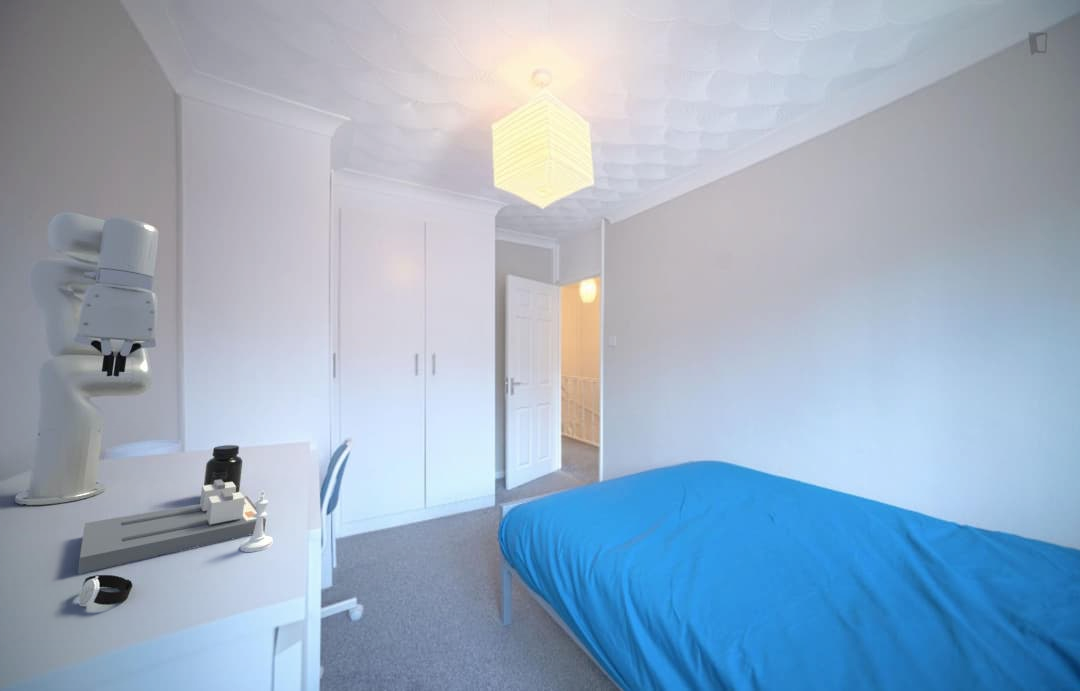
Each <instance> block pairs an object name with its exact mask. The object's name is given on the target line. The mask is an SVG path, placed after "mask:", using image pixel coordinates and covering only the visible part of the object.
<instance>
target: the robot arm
mask: <svg viewBox="0 0 1080 691" xmlns="http://www.w3.org/2000/svg"><path fill="white" fill-rule="evenodd" d="M159 234H160V233H159V230H158V229H157V228H156V227H155V226H153V225H152V224H150V223H148V222H147V223H146V222H144V221H141V220H136V219H132V218H127V217H121V216H112V217H111V216H110V217H107V218H106V219H105V220H104V219H101V218H97V217H92V216H88V215H84V214H80V213H76V212H75V213H74V212H61V213H58V214H56V215H55V216H54V217H52V219H51V220H50V222H49V223H48V226H47V232H46V236H47V241H48V244H49V246H50V247H51V249H52V250H53V251H55V252H58V253H61V254H65V255H66V256H68V257H69V258H70V259H68V258H58V257H57V258H56V257H48V258H47V257H46V258H45V257H44V258H40V259H38V260H35V261H34V262H33V263H32V264H31V265H30V267H29V269H28V275H27V276H28V277H27V278H28V288H29V291H30V295H31V297H32V299H33V301H34V303H35V304H36V305H37V306H38V308H39V310H40V311H41V313H42V315H43V317H44V327H45V328H44V329H45V341H46V348H47V351H48V352H49V354H50V355H51V356H52V357H50V358H48V359H46V360H44V361H43V362H42V363H41V364H40V366H39V367H38V371H37V372H38V373H37V380H38V389H39V390H38V391H39V411H38V412H39V413H38V420H37V428H36V436H35V444H34V450H33V456H32V463H31V470H30V476H29V477H30V478H29V484H28V490H27V489H26V490H25V491H22V492H19V493H18V494H16V496H15V497H14V498H15V499H14V502H15V503H16V504H18V505H23V504H26V505H25V506H38V505H39V506H44V505H56V504H61V503H69V502H73V501H74V502H75V501H79V500H83V499H86V498H87V499H88V498H91V497H94V496H97V495H98V494H101V493H103V491H105V489H106V484H105V483H103V482H101V481H99V482H98V481H97V475H98V467H99V460H100V453H101V445H102V438H103V432H104V431H103V430H104V424H105V414H104V412H103V411H102V410H101V408H100V407H98V406H97V405H96V404H94V402H92V401H91V398H98V397H99V398H100V397H126V396H127V397H128V396H132V397H133V396H138V395H142V394H144V393H146V392H147V391H148V390H150V388H151V386H152V382H153V370H152V365H151V364H152V363H151V361H150V359H151V358H150V355H149V351H148V348H149V349H151V348H155V347H156V346H157V343H156V338H155V337H156V334H157V328H158V327H157V326H158V314H159V313H158V311H159V310H158V308H159V305H158V296H157V293H155V292H152V291H153V284H154V282H153V281H154V276H155V268H156V262H157V261H156V260H157V255H158V249H159V247H158V246H159V245H158V243H159ZM77 295H78V296H77ZM79 295H80V296H83V299H82V298H81V297H79Z"/></svg>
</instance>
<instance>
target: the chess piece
mask: <svg viewBox="0 0 1080 691" xmlns="http://www.w3.org/2000/svg"><path fill="white" fill-rule="evenodd" d="M265 493H266V492H265V490H261V493H260V497H259V499H260V500H256V501H255V503H254V505H255V506H256V510H257V513H256V514H254V516H253V517H254V518H257V520H256V524H255V528H254V532H253V535H250V536H249V538H247V539H245V540H244V541H242V542H241V545H240V547H239V550H240V551H242V552H244V553H254V552H261V551H264V550H267V549H268V548H270V547H271V546H273V543H274V540H273V537H272V536H269V535H266V534H265V532H263V517H265V518H266V517H267V515H268V512H266V511H265V510H266V507H267V506H268V503H269V501H268V500H267V499H265Z"/></svg>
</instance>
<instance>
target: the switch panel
mask: <svg viewBox="0 0 1080 691" xmlns="http://www.w3.org/2000/svg"><path fill="white" fill-rule="evenodd" d="M244 497H245V501H244V509H243V518H241V519H235V520H230V521H225V522H220V523H215V524H210V525H209V523H208V521H207V519H206V514H207V511H202V509H201V507H200V503H198V504H191V505H186V506H179V507H175V508H173V507H172V508H169V509H168V508H167V509H162V510H156V511H150V512H143V513H137V514H132V515H125V516H119V517H113V518H107V519H106V518H105V519H102V520H101V519H100V520H95V521H88V522H85V523H84V525H83V534H82V541H81V547H80V554H79V562H78V571H77V575H80V574H85V573H90V572H93V571H99V570H103V569H108V568H112V567H117V566H120V565H124V564H130V563H133V562H138V561H141V560H142V561H143V560H147V558H148V559H152V558H155V556H156V557H159V556H158V555H161V556H164V555H163V554H165V555H170V554H173V553H172V552H174V553H177V552H176V551H178V552H181V551H180V550H183V551H186V550H185V549H187V550H190V549H189V548H191V549H194V548H193V547H196V548H198V547H197V546H200V547H203V546H202V545H204V546H208V545H207V544H209V545H212V544H217V543H221V541H222V542H226V541H230V540H229V539H231V540H233V539H232V538H235V539H238V538H237V537H240V538H243V537H242V536H244V537H247V536H246V535H248V536H250V535H249V534H253V532H254V528H255V524H256V520H257V518H254V517H253V516H254V514H256V513H257V510H256V506H255V503H254V502H252V500H251V499H250V498H249V496H247V495H246V496H244ZM266 522H267V521H266V516H265V517H263V531H264V532H265V528H266ZM225 540H226V541H225ZM151 557H152V558H151Z"/></svg>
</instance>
